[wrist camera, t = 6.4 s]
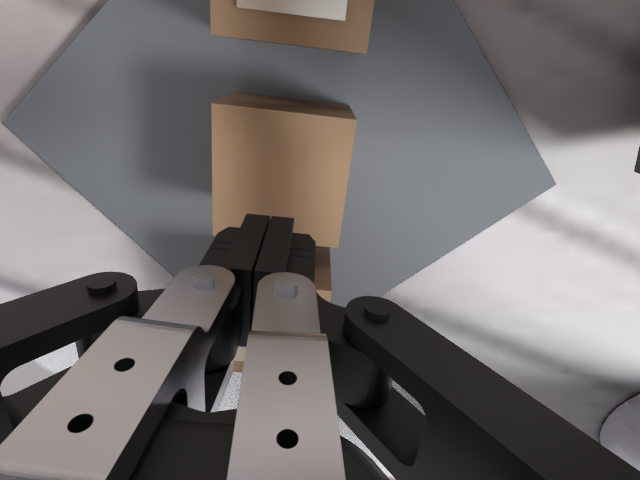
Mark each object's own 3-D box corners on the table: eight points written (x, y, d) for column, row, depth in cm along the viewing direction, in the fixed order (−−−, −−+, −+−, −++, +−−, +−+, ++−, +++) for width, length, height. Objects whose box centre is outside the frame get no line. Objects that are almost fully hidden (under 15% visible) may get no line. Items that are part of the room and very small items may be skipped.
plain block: (349, 105, 21) (357, 119, 16) (334, 209, 23) (338, 248, 19) (235, 91, 20) (211, 103, 16) (233, 199, 23) (212, 235, 18)
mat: (550, 181, 23) (556, 184, 23) (273, 358, 29) (272, 364, 29) (318, -233, 16) (318, -243, 15) (9, 121, 22) (1, 123, 21)
